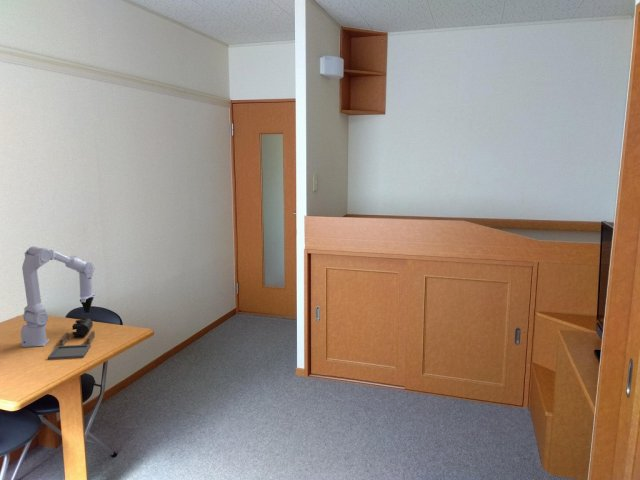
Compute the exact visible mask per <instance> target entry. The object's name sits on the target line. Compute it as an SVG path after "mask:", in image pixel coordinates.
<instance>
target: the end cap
mask: <svg viewBox="0 0 640 480" xmlns="http://www.w3.org/2000/svg"><path fill="white" fill-rule="evenodd" d="M74 322H75V323H73V324H72V330H75V331H72V336H73V339H80V338H81V339H82V338H85V337H86V336H87V335H88V334H90V331H91V329H92V327H93V325H94V324H93V321H92V319H90V318H88V317H86V318H84V319H77V320H76V319H75V321H74Z"/></svg>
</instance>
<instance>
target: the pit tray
mask: <svg viewBox="0 0 640 480" xmlns="http://www.w3.org/2000/svg"><path fill="white" fill-rule="evenodd" d="M91 344H92V343H91ZM91 344H89V345H87V344H75V345H74V344H73V345H71V344H70V345H64V346H60V345H56V346H55V348H54V349H53V350H52V351H51V352H50V354H49V355H48V356H47V360H63V359H80V358H82V359H83V358H85V357H86V354H87V353H88V352H89V349H90V348H91V347H92V346H91Z"/></svg>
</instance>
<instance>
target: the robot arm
mask: <svg viewBox="0 0 640 480" xmlns="http://www.w3.org/2000/svg"><path fill="white" fill-rule="evenodd" d="M53 260H55V261H57V262H61V263H64V264H65V267H67V268H69V269H70V270H74V271H76V272H77V273H78V275H79V297H80V299H79V302H80V304H81V305H82V309H83V311H84V313H85V314H87V313H88V314H89V313H90V312H91V308H92V304H93V302H94V301H93V300H94V298H95V296H96V293H94V290H93V289H94V288H93V286H94V285H93V276H94V274H93V273H94V272H95V269H96V268H95V267H94V264H93V263H92V262H87V261H86V259H84V258H83V259H81V258H78V256H77V255H70V256H67V255H64V254H62V253H60V252H58V251H57V250H54V249H49V248H46V247H45V248H43V247H38V246H30V247H29V248H27V249H26V251H25V252H24V260H23V262H22V267H21V268H22V275H23V276H22V277H23V282H24V283H23V284H24V290H25V296H26V297H25V298H26V303H27V305H26V306H25V307H24V308H23V310H24V312H23V316H22V319H23V321H24V322H25V323H26V324H23V325H22V327H21V329H20V337H21V347H20V348H27V347H28V348H29V347H45V345H47V344H48V342H49V341H50V338H47V330H46V329H47V328H46V326H47V323H48V321H49V314H48V312H47V311H46V308H45V306H44V305H43V303H42V298H41V297H42V296H41V289H40V284H39V278H38V270H39V269H40V268H41V267H43V266H44V265H45V264H47V263H48V262H49V261H53Z"/></svg>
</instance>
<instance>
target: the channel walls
mask: <svg viewBox="0 0 640 480" xmlns="http://www.w3.org/2000/svg"><path fill="white" fill-rule="evenodd" d="M95 335H96V334H95V331H91V332H89V335H88V336H87V338H86V345H89V344H92V342H93V341H94V339H95V337H96V336H95ZM69 339H70V333H69V331H68V332H65V333H64V335H63V336H62V337H61V338H60V339H59V346H65V345H66V343H67V342H68V341H69Z"/></svg>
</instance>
